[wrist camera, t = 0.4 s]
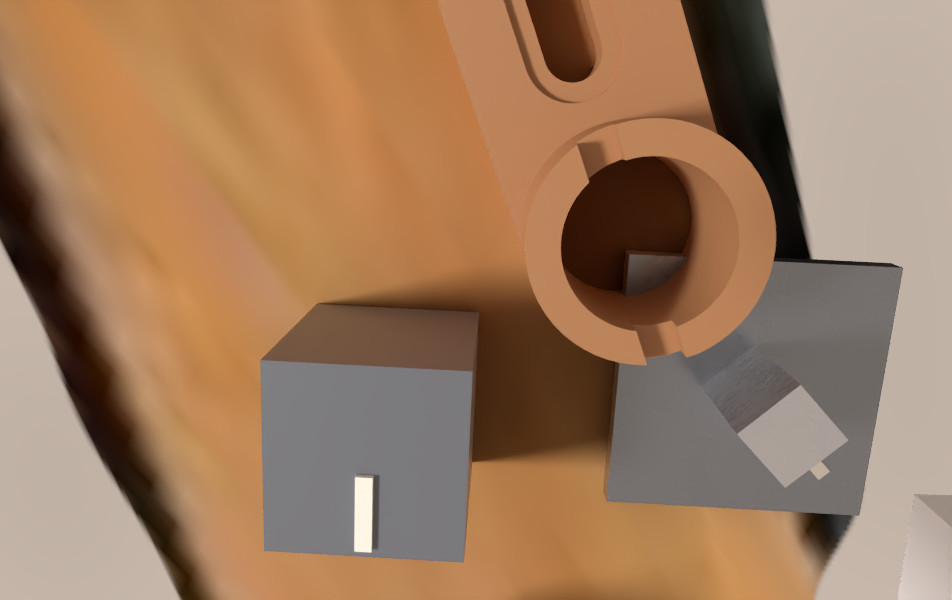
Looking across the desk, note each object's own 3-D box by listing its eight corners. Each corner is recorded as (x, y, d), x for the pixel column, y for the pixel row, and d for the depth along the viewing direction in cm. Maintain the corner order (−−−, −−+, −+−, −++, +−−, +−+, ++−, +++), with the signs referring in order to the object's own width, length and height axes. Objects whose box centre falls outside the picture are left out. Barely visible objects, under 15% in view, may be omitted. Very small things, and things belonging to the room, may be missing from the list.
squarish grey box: (317, 303, 33) (258, 362, 25) (479, 312, 33) (472, 373, 25) (317, 454, 35) (262, 554, 27) (472, 462, 34) (463, 565, 26)
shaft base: (625, 250, 32) (653, 278, 26) (890, 263, 32) (978, 295, 26) (603, 490, 35) (624, 565, 29) (849, 504, 34) (920, 582, 28)
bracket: (739, 279, 33) (802, 320, 26) (554, 340, 33) (568, 395, 27) (615, -161, 29) (651, -247, 22) (410, -80, 30) (385, -140, 23)
